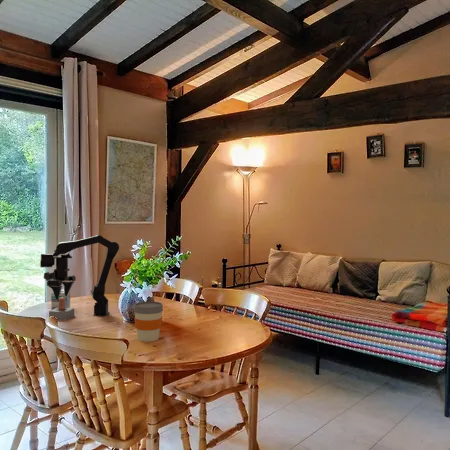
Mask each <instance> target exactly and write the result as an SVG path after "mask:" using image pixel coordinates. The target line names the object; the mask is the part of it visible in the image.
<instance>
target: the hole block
mask: <svg viewBox="0 0 450 450" xmlns="http://www.w3.org/2000/svg"><path fill="white" fill-rule="evenodd" d="M50 316H54V317H56V318H57V319H56V320H59V321H60V320H62V321H63V320H64V321H67V320H68V319H70V318H71V319H72V317H74V316H75V307H70V308H65V310H64V311H59V307H57V308H55V309H53V310H51V309H50V310H48V318H49V317H50Z"/></svg>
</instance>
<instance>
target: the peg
mask: <svg viewBox="0 0 450 450" xmlns="http://www.w3.org/2000/svg"><path fill="white" fill-rule="evenodd" d="M64 310H65V298H64V297H61V298H59V311H64Z"/></svg>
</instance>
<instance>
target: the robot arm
mask: <svg viewBox="0 0 450 450" xmlns="http://www.w3.org/2000/svg"><path fill="white" fill-rule="evenodd" d="M94 244H100V245H102V246H104V247H105V258H104V261H103V263H102V267H101V270H100V273H99V277H98V280H97V282H96V284H92V289H91V290H90V293H91V296H92V299H93V300H94V301H95V303H94V305H93V316H98V317H99V316H101V317H102V316H103V317H106V316H107V315H109V314H110V313H111V312H109V299H108V298H107V296H105V293H106V290H105V289H106V284H107V280H108V277H109V274H110V270H111V267H112V265H113V260H114V258H115V257H116V255H117V253H118V252H119V250H120V245H119V243H118V242H116V241H114V240H108V239H107V238H105V237H104V236H102V235H100V234H96V235H93V236H90V237H86V238H82V239H78V240H72V241H60V242H58V243H57V244H56V247H55V248H56V249H54V251H53V252H52V253H41V254H40V260H39V263H40V264H39V265H40V268H53V266H55V268H54V269H53V272H48V271H46V272H44V273H43V279H44V280H45V281H46V286H47V287H49V288H51V290H52V292H54V295H55V298H56V299H58V298H59V295H60V292H61V289H64V293H65V296H67V295H68V293H69V291H70V292H71V288H72V287H73V285H74V283H75V281H76V279H77V277H76V276H75V275H73V274H70V275H69V271H70V268H69V259H72V258H73V256H72V255H70V253H69V252H72V251H74V250H76V249H79V248H82V247H87V246H91V245H94ZM62 287H63V288H62Z"/></svg>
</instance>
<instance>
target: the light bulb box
mask: <svg viewBox="0 0 450 450" xmlns="http://www.w3.org/2000/svg"><path fill="white" fill-rule="evenodd" d="M50 293H51V294H50V295H51V296H50V297H51V300H50V301H51V304H50V306H51V307H50V308H51V309H50V310H53V309H55V308H57V307H59V298H61V297H64V298H65V308H71V290H70V291H69V293H68V295H67V296H65V293H64V288H61V292H60V295H59V298H58V299H56V298H55V295H54V292H53V291H52V292H50Z"/></svg>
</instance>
